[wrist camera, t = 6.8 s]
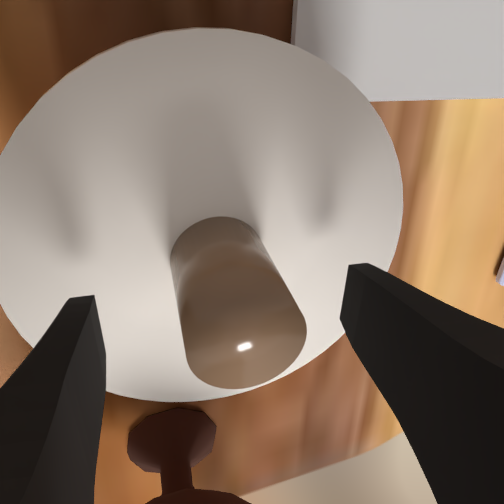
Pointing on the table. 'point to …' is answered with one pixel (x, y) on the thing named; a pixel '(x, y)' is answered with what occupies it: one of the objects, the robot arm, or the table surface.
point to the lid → (197, 208)
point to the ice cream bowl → (176, 455)
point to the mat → (408, 45)
